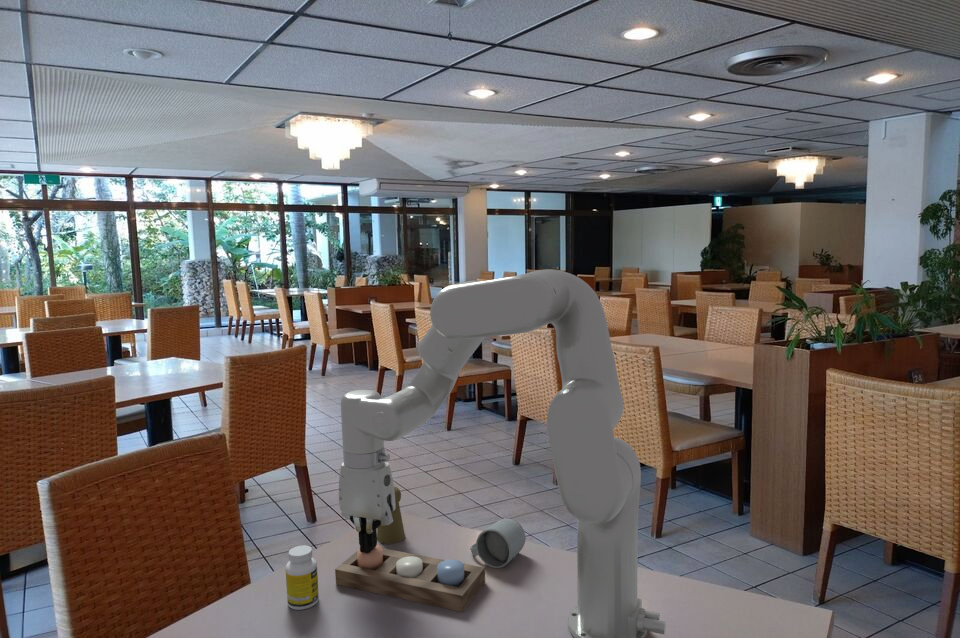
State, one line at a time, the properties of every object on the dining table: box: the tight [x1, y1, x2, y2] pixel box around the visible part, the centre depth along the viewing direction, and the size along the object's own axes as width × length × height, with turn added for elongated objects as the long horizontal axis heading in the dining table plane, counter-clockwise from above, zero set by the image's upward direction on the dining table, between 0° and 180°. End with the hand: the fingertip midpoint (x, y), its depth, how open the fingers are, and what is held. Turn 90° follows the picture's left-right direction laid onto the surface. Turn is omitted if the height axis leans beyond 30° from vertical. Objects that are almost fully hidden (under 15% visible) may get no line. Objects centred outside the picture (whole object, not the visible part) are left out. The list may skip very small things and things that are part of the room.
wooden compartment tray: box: [334, 548, 486, 613], centre depth 123 cm, size 26×10×3 cm, turn 67°
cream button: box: [396, 556, 423, 579], centre depth 123 cm, size 5×5×3 cm
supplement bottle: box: [285, 544, 320, 611], centre depth 117 cm, size 5×5×10 cm
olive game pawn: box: [376, 485, 406, 545], centre depth 141 cm, size 6×6×11 cm
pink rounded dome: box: [356, 544, 383, 570], centre depth 126 cm, size 5×5×3 cm
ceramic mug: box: [470, 518, 526, 569], centre depth 131 cm, size 11×8×8 cm
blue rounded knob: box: [437, 559, 465, 587], centre depth 119 cm, size 5×5×3 cm
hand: (368, 549), depth 126 cm, fingers closed
